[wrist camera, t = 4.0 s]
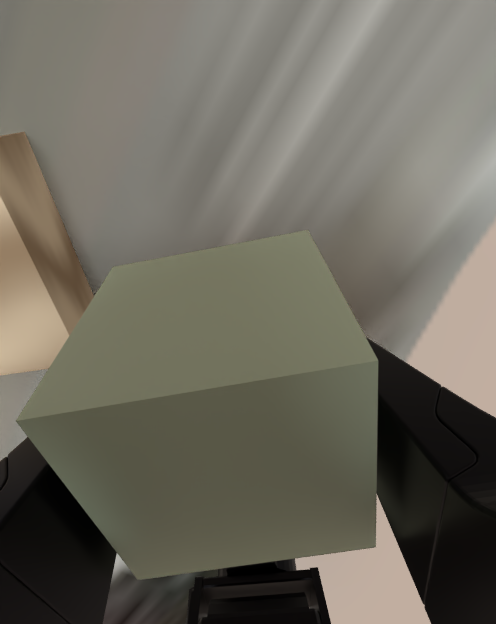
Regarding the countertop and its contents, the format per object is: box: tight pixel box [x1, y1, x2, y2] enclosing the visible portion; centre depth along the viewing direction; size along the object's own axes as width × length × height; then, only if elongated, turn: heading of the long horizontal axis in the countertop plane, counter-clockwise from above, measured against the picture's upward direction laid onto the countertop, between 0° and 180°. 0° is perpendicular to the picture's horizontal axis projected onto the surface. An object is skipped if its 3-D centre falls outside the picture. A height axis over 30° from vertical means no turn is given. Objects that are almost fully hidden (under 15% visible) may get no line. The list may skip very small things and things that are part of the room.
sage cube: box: [16, 230, 378, 580], centre depth 8 cm, size 5×5×5 cm
